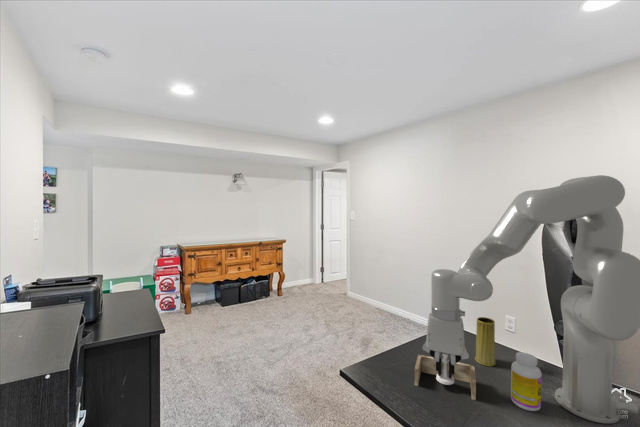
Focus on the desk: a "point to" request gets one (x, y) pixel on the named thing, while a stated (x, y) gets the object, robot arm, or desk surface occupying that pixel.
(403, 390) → the desk surface
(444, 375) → the chess piece
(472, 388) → the open-side wooden frame
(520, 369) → the supplement bottle
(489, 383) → the desk surface
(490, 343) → the vase
